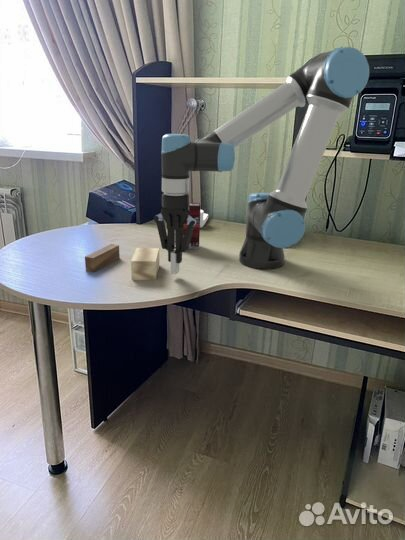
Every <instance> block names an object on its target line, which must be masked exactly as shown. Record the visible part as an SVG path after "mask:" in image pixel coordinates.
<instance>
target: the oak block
mask: <svg viewBox="0 0 405 540" xmlns="http://www.w3.org/2000/svg"><path fill="white" fill-rule="evenodd" d="M130 267H131V269H130V270H131V271H130V272H131V280H132V281H133V280H134V281H135V280H136V281H156V280H157V277H158V273H159V269H160V248H159V247H157V248H155V247H136V249H135V251H134V254H133V255H132V257H131V260H130Z"/></svg>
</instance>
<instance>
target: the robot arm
mask: <svg viewBox="0 0 405 540" xmlns="http://www.w3.org/2000/svg"><path fill="white" fill-rule="evenodd" d="M367 59H368V58H367V57H366V56H365V54H364V53H363V52H362V51H360V50H359V49H357V48H354V47H349V46H348V47H347V46H346V47H345V46H340V47H337V48H335V49H333V50H330V51H326V52H325V51H323V52H321V53H319V54H316V55H315V56H314V57H312V58H311V59H309V60H308V61H307V62H306V63H304V64H303V65H302V66H301V67H299V68H298V69H296V70H295V71H294V72H293V73H291V74H290V75H288V76H287V77H286V79H285V82H284V83H283V84H281V85H280V86H279V87H277V88H275V89H274V90H273V91H271V92H270V93H268V94H266V95H264V97H262V98H261V99H259V100H258V101H256V102H255V103H253V104H252V105H250V106H249V107H247V108H246V109H244V110H242V111H241V112H239V113H238V114H237V115H236V116H234V117H233V118H231V119H229V120H228V121H226V122H224V124H222V125H220V126H218V127H217V128H216V129H214V130H213V131H212V132H210V133H209V134H207V135H205V136H204V137H201V138H200V137H199V138H198V139H197V140H195V141H194V142H193V141H192V140H191V136H190V135H189V134H186V133H166V134H164V135H163V136H162V138H161V152H160V153H161V155H160V156H161V192H162V194H161V211H160V213H158V214H156V215H155V216H153V220H154V222H155V224H156V227H157V231H158V237H159V240H160V246H161V249H163V250H166V251H167V261H168V262H169V263H170V274H171V275H176V274H178V273H179V272H180V263H182V261H183V253H185V252H186V251H188V250H189V249H188V248H189V245H190V241H191V237H192V233H193V229H194V226H195V225H196V224H197V222H198V221H197V219H193V218H192V217H191V216H190V213H189V203H190V194H189V192H190V174H191V173H190V172H219V173H222V172H231V171H232V170H233V169H234V166H235V158H236V155H235V153H236V151H235V148H237V147H238V146H240V145H242V144H243V143H244V142H246V141H248V140H249V139H251V138H252V137H254V136H255V135H257V134H259V133H260V132H261V131H262V130H264V129H266V128H267V127H269V126H271V125H272V124H273V123H275V122H276V121H278V120H279V119H281V118H282V117H284V116H285V115H287V114H288V113H290V112H292V111H293V110H294V109H296V108H298V107H299V108H303V107H306V106H307V105H308V106H307V109H306V111H305V115H304V118H303V119H302V122H301V125H300V128H299V130H298V133H297V135H296V137H295V141H294V144H293V146H292V148H291V151H290V154H289V156H288V159H287V162H286V164H285V167H284V170H283V172H282V175H281V176H280V180H279V182H278V185H277V187H276V189H275V190H274V191H271V192H252V193H250V194H249V195H248V201H247V214H246V229H245V230H246V231H245V239H244V241H243V243H242V247H241V249H240V252H239V255H238V261H239V262H240V263H241V264H242V265H244V266H246V267H251V268H253V267H254V268H255V269H260V268H262V269H263V270H269V269H268V268H272V269H277V267H278V268H280V266H281V267H282V266H284V264H285V258H286V256H285V253H284V249H286V248H289V247H293V246H294V245H296V244H297V243H299V242H300V240H301V239H302V238H303V236H304V235H305V232H306V231H305V230H306V223H305V220H304V217H305V215H306V212H307V210H308V206H309V205H308V204H307V202H306V198H307V196H308V194H309V191H310V189H311V186H312V183H313V181H314V178H315V176H316V174H317V172H318V168H319V166H320V164H321V161H322V158H323V157H324V154H325V151H326V149H327V147H328V144H329V142H330V139H331V137H332V134H333V132H334V130H335V127H336V124H337V122H338V119H339V118H340V116H341V115H342V114H343V113H345V112H347V111H348V110H349V109H350V106H351V103H352V101H353V99H354V97H356V96H357V95H359V94H360V93H361V92H362V91H364V88H365V87H366V85H367V84H368V81H369V78H370V65H369V62H368V60H367ZM187 220H188V222H187V225H188V226H187V229H186V233H185V237H184V241H183V228H184V223H185V222H186V221H187ZM165 223H166V224H165ZM175 230H176V247H175Z"/></svg>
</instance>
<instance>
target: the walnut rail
mask: <svg viewBox="0 0 405 540" xmlns="http://www.w3.org/2000/svg"><path fill="white" fill-rule="evenodd" d="M119 259H120V244H115V243H110V244H108V245H106V246H104V247H102V248H100V249H97V250H96V251H93V252H92V253H89V254H87V255H86V256H84V263H85V271H87V272H90V273H91V272H92V273H95V272H97V271H99V270H100V269H103V268H104V267H106V266H108V265H111V263H113V262H115V261H117V260H119Z"/></svg>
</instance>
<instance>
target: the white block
mask: <svg viewBox="0 0 405 540" xmlns="http://www.w3.org/2000/svg"><path fill="white" fill-rule="evenodd" d="M208 220H209V214H208V213H205V212H204V210H203V209H201V208H200V229H202V228H203V227H204V226H205V224H206V222H207V221H208Z"/></svg>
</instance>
